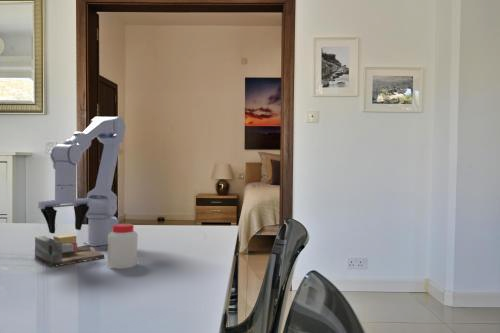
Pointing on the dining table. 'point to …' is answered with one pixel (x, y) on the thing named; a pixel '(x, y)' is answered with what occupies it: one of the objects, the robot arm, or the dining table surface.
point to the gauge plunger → (69, 247)
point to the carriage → (65, 238)
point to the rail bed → (53, 254)
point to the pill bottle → (122, 246)
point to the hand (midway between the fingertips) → (65, 231)
